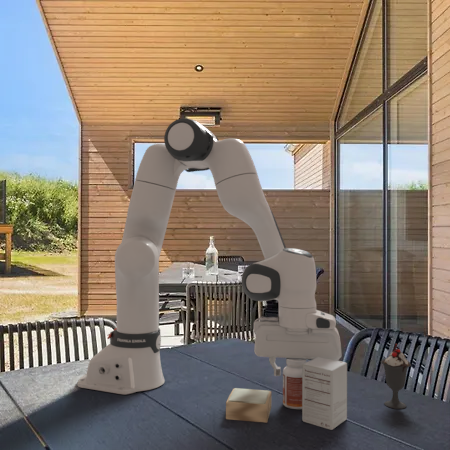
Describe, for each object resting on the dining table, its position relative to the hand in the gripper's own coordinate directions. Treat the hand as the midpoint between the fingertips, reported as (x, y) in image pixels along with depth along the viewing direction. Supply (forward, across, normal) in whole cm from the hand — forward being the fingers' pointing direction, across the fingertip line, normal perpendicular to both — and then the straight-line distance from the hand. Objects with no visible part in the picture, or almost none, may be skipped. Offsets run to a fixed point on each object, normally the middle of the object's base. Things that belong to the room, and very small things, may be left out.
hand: (297, 376), depth 117 cm
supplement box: (+7, +6, -8) cm, 12 cm away
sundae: (+7, +23, +4) cm, 24 cm away
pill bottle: (+7, 0, 0) cm, 7 cm away
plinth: (+7, -10, -7) cm, 14 cm away
